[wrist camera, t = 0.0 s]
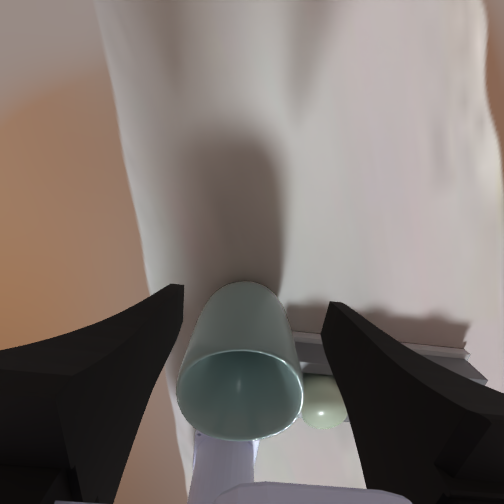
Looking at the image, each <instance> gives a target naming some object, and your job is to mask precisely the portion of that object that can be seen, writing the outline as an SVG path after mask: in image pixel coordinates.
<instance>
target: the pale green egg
mask: <svg viewBox="0 0 504 504" xmlns="http://www.w3.org/2000/svg"><path fill="white" fill-rule="evenodd" d="M302 375H303V382H304V389H305V394H304V403H303V406H302V410H301V412H302V417H303V420H304V422H305V423H306V424H307V425H309V426H311V427H313V428H317V429H329V428H333V427H335V426H338V425H339V424H341V423H342V422H343V421H344V420H345V419H346V417H347V410H346V407H345V404H344V401H343V399H342V396H341V394H340V391H339V388H338V386H337V383H336V381H335V378H334V376H333V375H326V374H315V373H303V374H302Z"/></svg>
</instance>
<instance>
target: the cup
mask: <svg viewBox="0 0 504 504" xmlns="http://www.w3.org/2000/svg"><path fill="white" fill-rule="evenodd" d="M304 394H305V389H304V382H303V375H302V370H301V365H300V361H299V357H298V353H297V348H296V344H295V340H294V337H293V333H292V329H291V326H290V323H289V320H288V318H287V315H286V313H285V310H284V308H283V306H282V304H281V302H280V301H279V299H278V298H277V296H276V295H275V294H274V293H273V292H272V291H271V290H270V289H269V288H268V287H266V286H264V285H262V284H259V283H256V282H250V281H240V282H234V283H230V284H228V285H225V286H223V287H222V288H220V289H218V290H217V291H216V292H215V293H214V294H213V295H212V296H211V297H210V298H209V300H208V301H207V303H206V304H205V306H204V308H203V309H202V311H201V313H200V315H199V317H198V320H197V322H196V325H195V327H194V330H193V332H192V335H191V338H190V341H189V344H188V346H187V349H186V352H185V355H184V358H183V361H182V364H181V367H180V370H179V373H178V377H177V384H176V396H177V402H178V405H179V407H180V410H181V412H182V414H183V415H184V417H185V418H186V420H187V421H188V422H189V423H190V424H191V425H192V426H193V427H194V428H195V429H197V430H198V431H200V432H201V433H203V434H205V435H208V436H210V437H213V438H217V439H221V440H228V441H252V440H260V439H264V438H268V437H271V436H273V435H276V434H278V433H281V432H282V431H284V430H285V429H287V428H289V427H290V426H291V425H292V424H293V423H294V422H295V421H296V419H297V417H298V416H299V414H300V412H301V410H302V406H303V403H304Z"/></svg>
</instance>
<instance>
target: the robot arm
mask: <svg viewBox="0 0 504 504" xmlns="http://www.w3.org/2000/svg"><path fill="white" fill-rule="evenodd" d="M183 303H184V285H179V284H170V285H168V286H166V287H164V288H163V289H161V290H160V291H158V292H156V293H155V294H153V295H151V296H150V297H148V298H146V299H145V300H143V301H141V302H139V303H138V304H136V305H134V306H132V307H130V308H128V309H126V310H125V311H122V312H120V313H118V314H116V315H114V316H112V317H109V318H107V319H105V320H103V321H100V322H98V323H95V324H92V325H90V326H87V327H84V328H81V329H78V330H75V331H73V332H70V333H67V334H63V335H60V336H57V337H53V338H50V339H46V340H43V341H39V342H35V343H31V344H27V345H23V346H18V347H14V348H9V349H5V350H0V504H113V502H114V499H115V496H116V493H117V490H118V487H119V484H120V481H121V477H122V474H123V471H124V468H125V465H126V463H127V460H128V457H129V454H130V451H131V448H132V445H133V442H134V439H135V436H136V434H137V430H138V428H139V425H140V422H141V419H142V416H143V414H144V411H145V409H146V406H147V403H148V400H149V398H150V395H151V392H152V390H153V388H154V385H155V383H156V381H157V379H158V377H159V374H160V372H161V371H162V369H163V367H164V364H165V362H166V360H167V358H168V356H169V354H170V352H171V350H172V348H173V346H174V344H175V342H176V340H177V337H178V334H179V331H180V328H181V325H182V322H183ZM321 339H322V344H323V348H324V352H325V355H326V358H327V360H328V363H329V366H330V368H331V371H332V373H333V376H334V378H335V381H336V383H337V386H338V388H339V391H340V394H341V396H342V399H343V401H344V404H345V407H346V410H347V414H348V417H349V421H350V424H351V428H352V431H353V435H354V439H355V443H356V446H357V450H358V454H359V458H360V462H361V466H362V470H363V475H364V479H365V483H366V488H367V489H360V488H346V487H333V486H320V485H306V484H293V483H280V482H266V481H265V482H254V465H255V460H256V455H257V450H258V445H259V441H260V440H252V441H228V440H221V439H217V438H213V437H210V436H208V435H205V434H203V433H201V432H200V431H198V430H197V429H196V431H195V446H194V461H193V475H192V481H191V486H190V491H189V496H188V502H187V504H504V393H501V392H499V391H496V390H494V389H491V388H489V387H486V386H484V385H482V384H479V383H477V382H475V381H472V380H470V379H468V378H466V377H464V376H461V375H459V374H457V373H455V372H453V371H451V370H449V369H447V368H445V367H443V366H441V365H439V364H437V363H435V362H433V361H431V360H429V359H427V358H425V357H424V356H422V355H420V354H418V353H417V352H415V351H413V350H411V349H410V348H408V347H406V346H405V345H403V344H401V343H400V342H398V341H397V340H395V339H394V338H392V337H391V336H389V335H388V334H386V333H385V332H383V331H382V330H380V329H379V328H377V327H376V326H375V325H373V324H372V323H371V322H369V321H368V320H366V319H365V318H364V317H362V316H361V315H360V314H358V313H357V312H355V311H354V310H353V309H351V308H350V307H348V306H347V305H345V304H343V303H341V302H332V301H330V303H329V306H328V310H327V313H326V317H325V321H324V324H323V328H322V331H321Z"/></svg>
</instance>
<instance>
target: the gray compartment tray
mask: <svg viewBox="0 0 504 504" xmlns="http://www.w3.org/2000/svg"><path fill="white" fill-rule="evenodd" d="M292 333H293V337H294V340H295V344H296V348H297V353H298V357H299V361H300V365H301V370H302V374H303V373H315V374H326V375H333V373H332V371H331V368H330V366H329V363H328V360H327V358H326V355H325V352H324V348H323V344H322V339H321V334H314V333H305V332H295V331H292ZM400 343H401V342H400ZM401 344H403V345H405V346H406V347H408V348H410V349H411V350H413V351H415V352H417V353H418V354H420V355H422V356H424V357H425V358H427V359H429V360H431V361H433V362H435V363H437V364H439V365H441V366H443V367H445V368H447V369H449V370H451V371H453V372H455V373H457V374H459V375H461V376H464V377H466V378H468V379H470V380H472V381H475V382H477V383H479V384H482V385H484V386H485V384H486V383H487V381H488V380H487V379H486V378H485V377H484V376H483V375H482V374H481V373H480V372H479V371H477V370H476V369H475V368H474V367H473V366H472V365H471V364H470V363H469V362H468V359H469V357H470V355H471V354H469V353H468V352H467V351H466V350H465V349H459V348H449V347H440V346H430V345H420V344H411V343H401ZM297 418H303V417H302V412H300V414H299V416H298V417H297ZM343 422H350V421H349V417H348V414H347V417H346V419H345V420H344V421H343Z"/></svg>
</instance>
